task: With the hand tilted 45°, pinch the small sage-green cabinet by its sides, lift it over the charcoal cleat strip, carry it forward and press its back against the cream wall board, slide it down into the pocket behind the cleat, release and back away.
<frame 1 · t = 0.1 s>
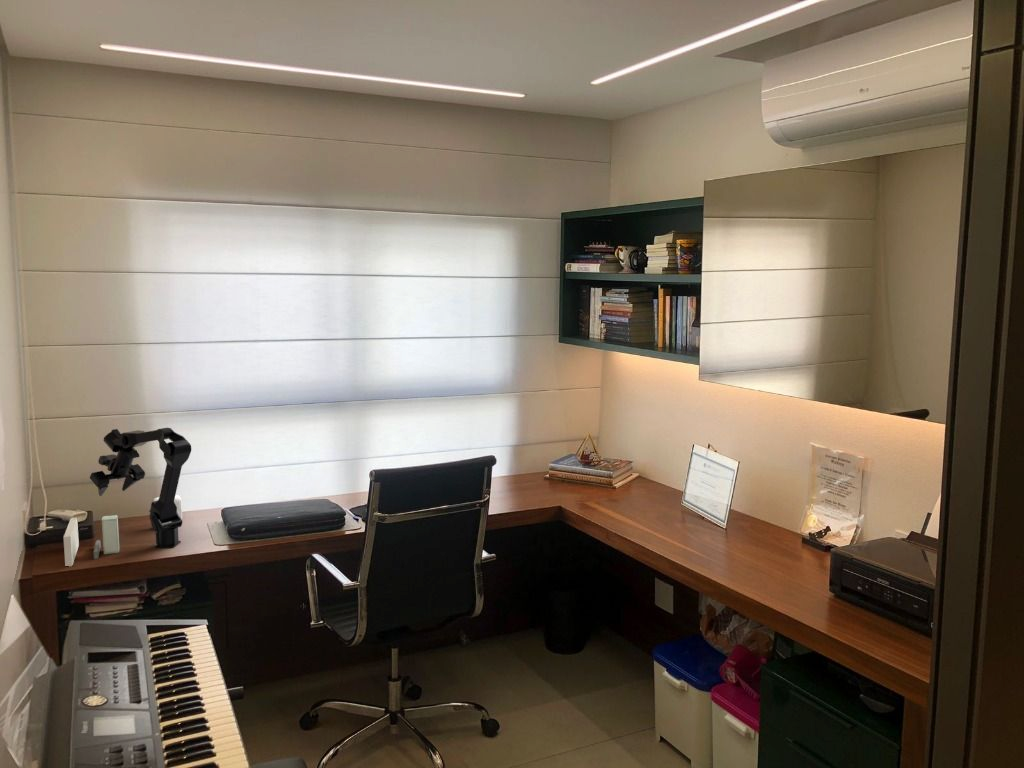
hand: (111, 492, 305), 15 cm above the table, tool tilted 35°, fingers open, 9 cm apart
photo printer: (168, 527, 314), on the table
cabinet: (111, 551, 284), on the table
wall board: (85, 554, 281), on the table
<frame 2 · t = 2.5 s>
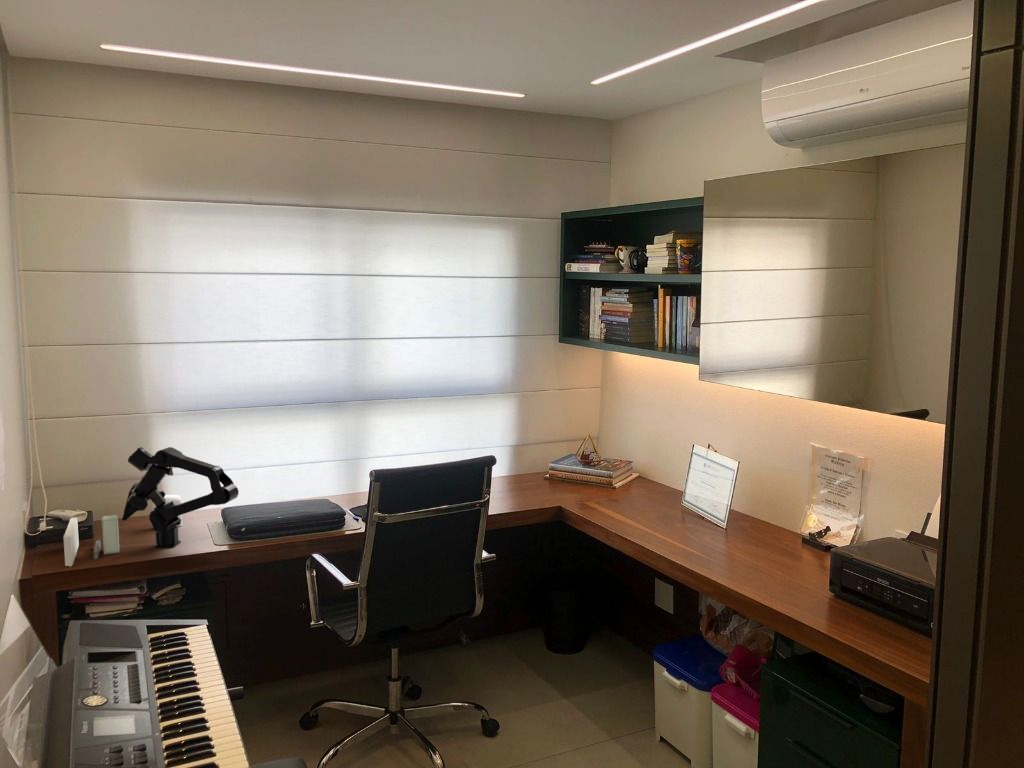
hand: (124, 516, 287), 11 cm above the table, tool tilted 35°, fingers open, 9 cm apart
nothing on the table moved.
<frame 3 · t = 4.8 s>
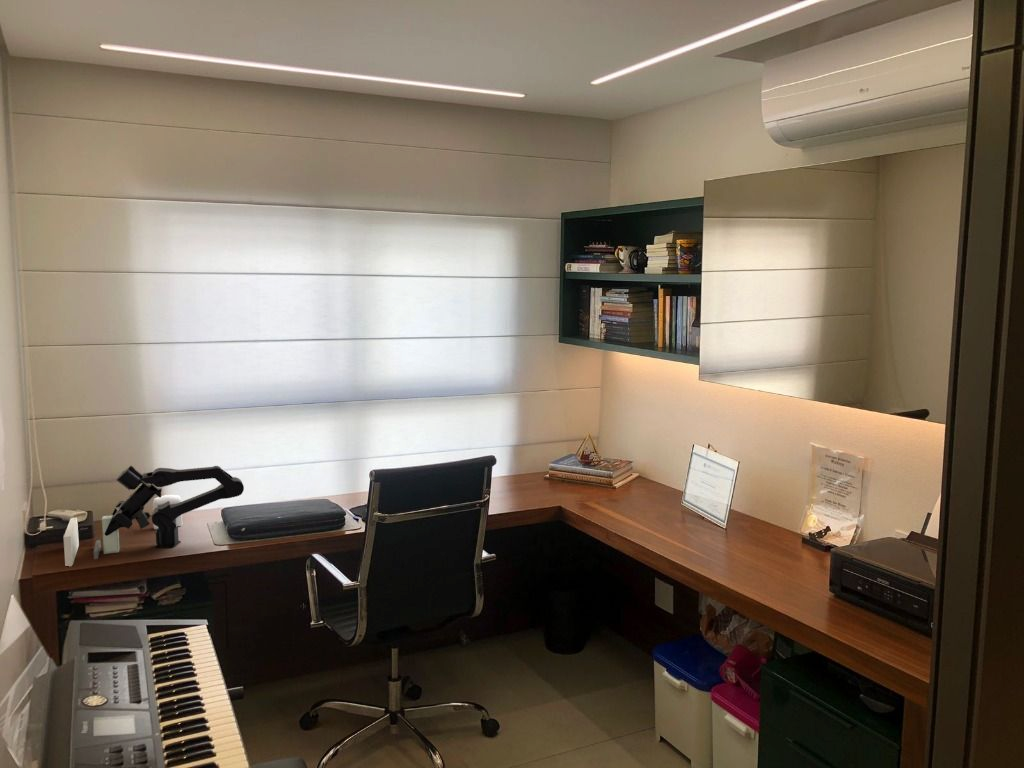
hand: (106, 533, 283), 7 cm above the table, tool tilted 45°, fingers closed on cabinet, 5 cm apart
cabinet: (111, 551, 284), on the table, touching gripper
everything else where it was.
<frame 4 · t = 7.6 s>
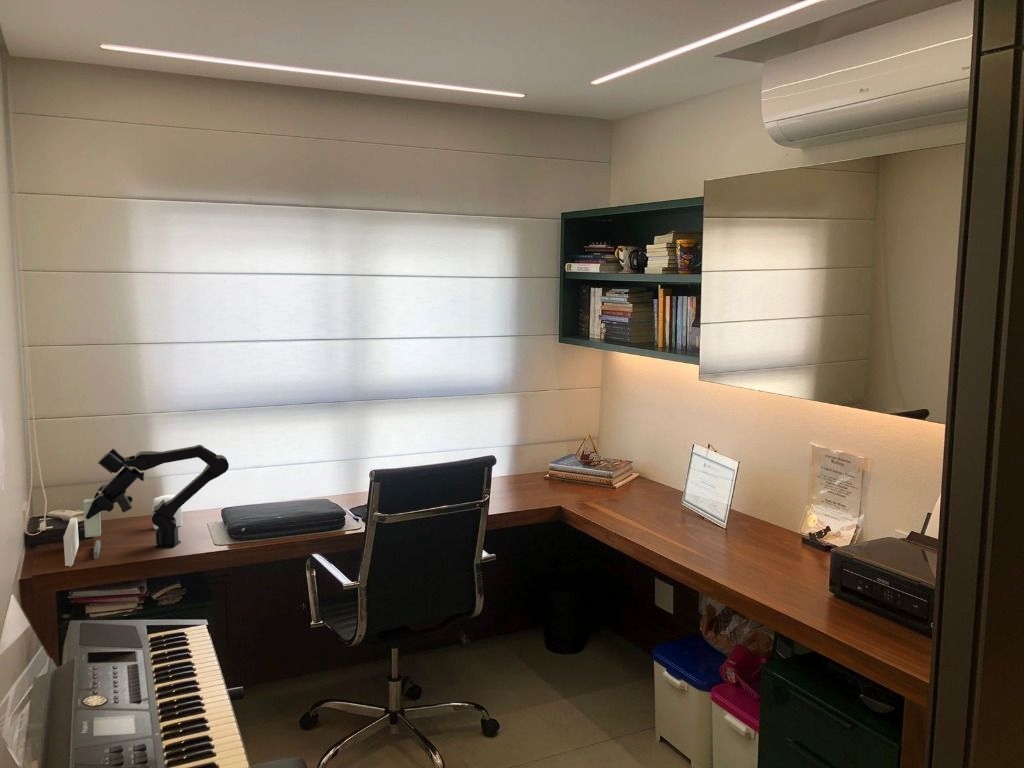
hand: (87, 516, 280), 13 cm above the table, tool tilted 45°, fingers closed on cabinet, 5 cm apart
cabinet: (93, 534, 281), point 6 cm above the table, touching gripper
everything else where it was.
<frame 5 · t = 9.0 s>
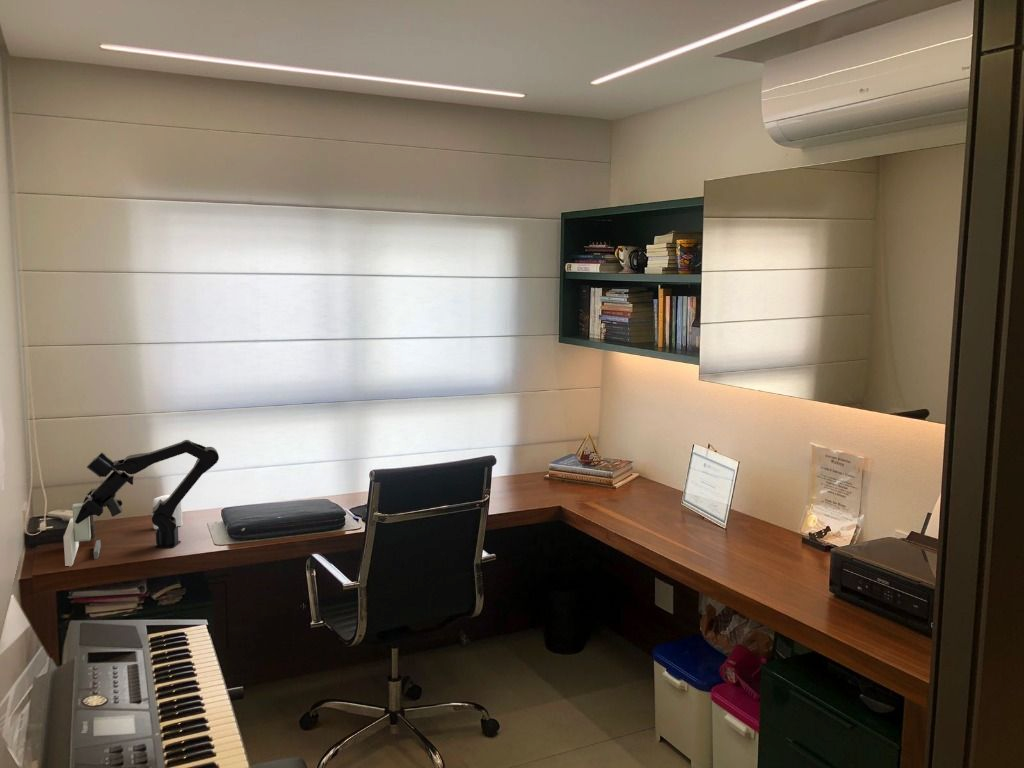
hand: (76, 521, 279), 12 cm above the table, tool tilted 45°, fingers closed on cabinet, 5 cm apart
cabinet: (82, 539, 280), point 5 cm above the table, touching gripper
everything else where it was.
when the fingers open (7 cm above the table, at t = 10.3 s): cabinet stays where it is, on the table.
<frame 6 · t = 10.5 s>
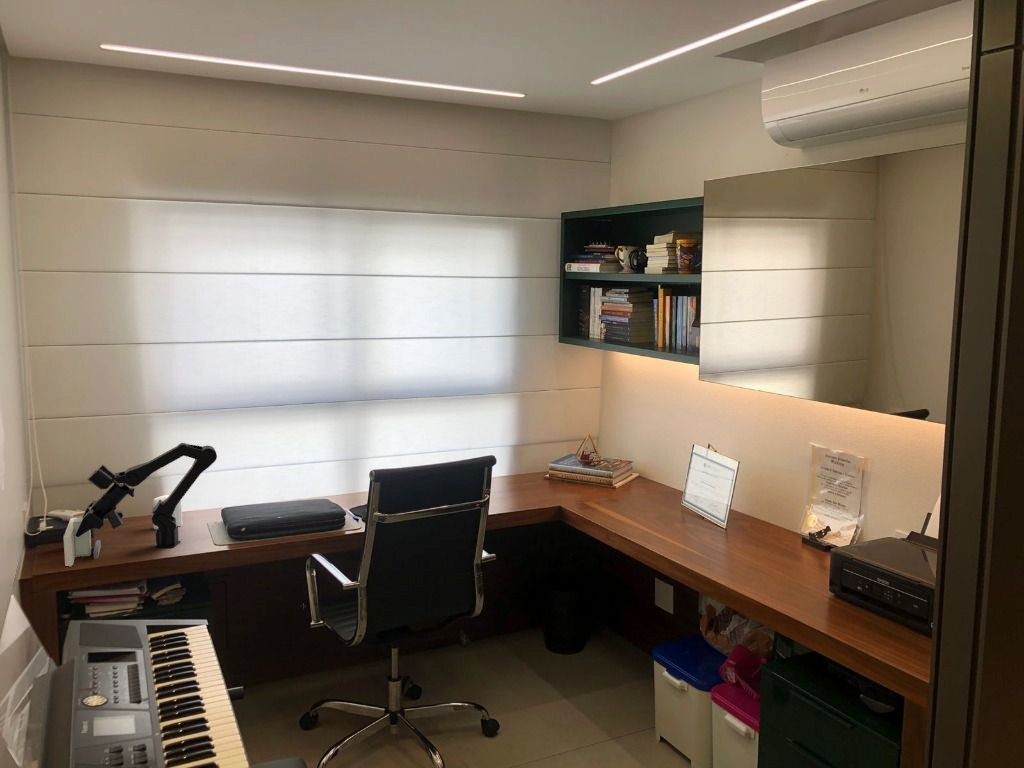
hand: (77, 533, 280), 8 cm above the table, tool tilted 45°, fingers open, 7 cm apart
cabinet: (83, 554, 281), on the table
everything else where it was.
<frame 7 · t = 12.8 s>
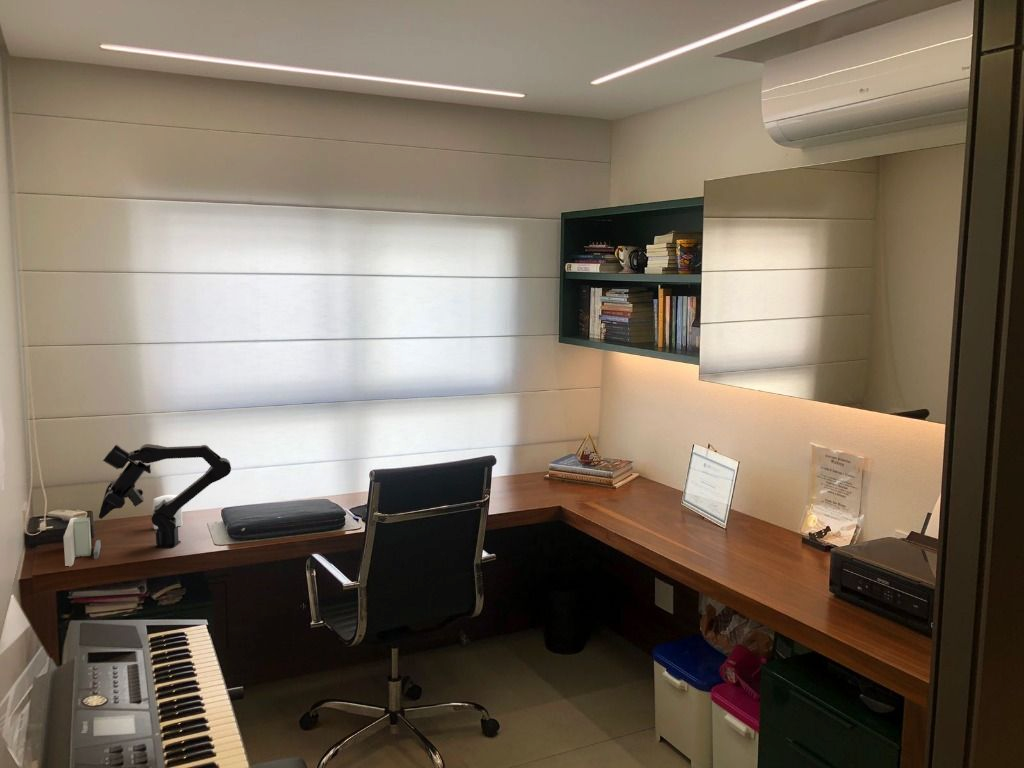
hand: (100, 514, 282), 13 cm above the table, tool tilted 40°, fingers open, 9 cm apart
nothing on the table moved.
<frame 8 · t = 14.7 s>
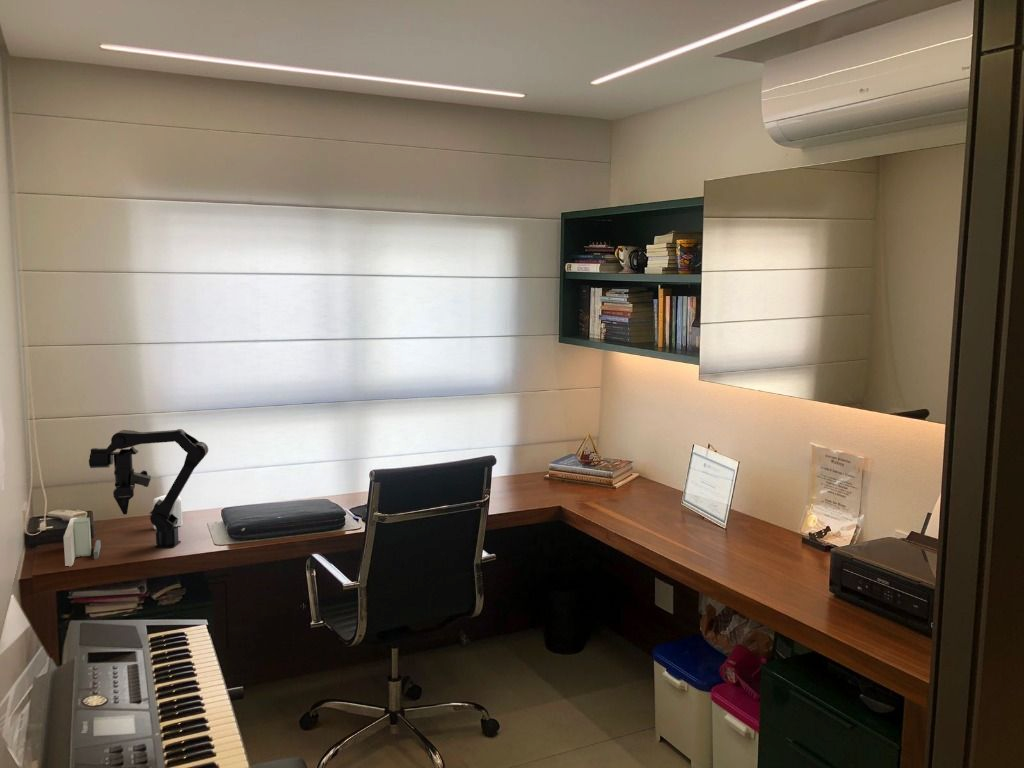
hand: (125, 511, 287), 13 cm above the table, tool pointing down, fingers open, 9 cm apart
nothing on the table moved.
at the end: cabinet 0.7 cm off-centre on the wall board, point 0.0 cm above the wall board's base; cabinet tilted 0°; the gripper is holding nothing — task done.
